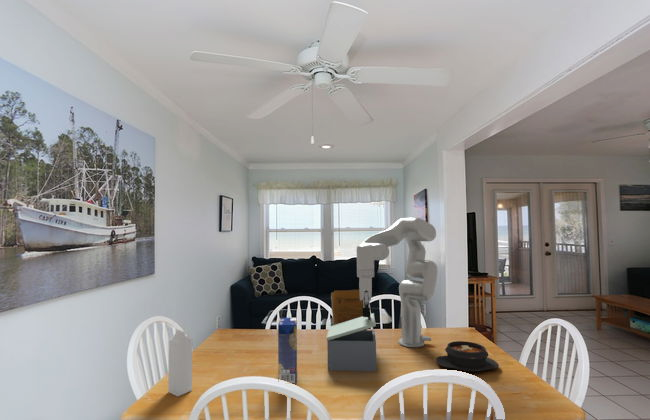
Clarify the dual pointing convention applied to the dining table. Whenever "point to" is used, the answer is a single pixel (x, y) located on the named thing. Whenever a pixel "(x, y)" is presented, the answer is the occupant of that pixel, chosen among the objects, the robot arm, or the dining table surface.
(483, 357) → the casserole
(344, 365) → the storage box
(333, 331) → the lid
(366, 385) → the dining table surface
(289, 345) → the beverage box
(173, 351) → the milk
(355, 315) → the pancake mix bag
